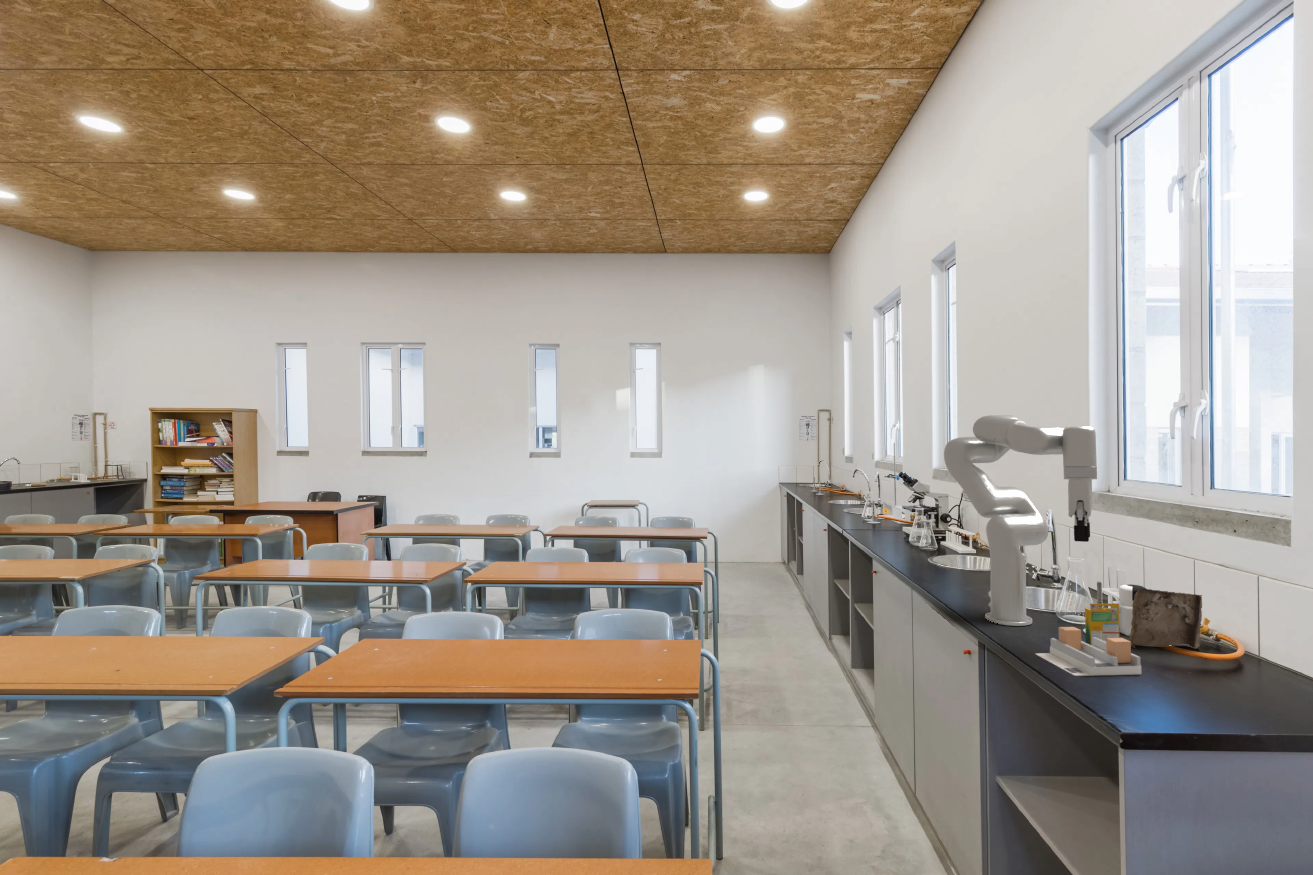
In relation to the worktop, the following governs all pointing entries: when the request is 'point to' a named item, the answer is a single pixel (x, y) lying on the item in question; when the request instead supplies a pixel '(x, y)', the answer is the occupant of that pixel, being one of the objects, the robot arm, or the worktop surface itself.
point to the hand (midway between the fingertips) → (1082, 539)
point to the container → (1126, 606)
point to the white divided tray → (1089, 659)
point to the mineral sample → (1165, 619)
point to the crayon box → (1101, 622)
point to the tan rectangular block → (1070, 636)
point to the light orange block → (1119, 649)
